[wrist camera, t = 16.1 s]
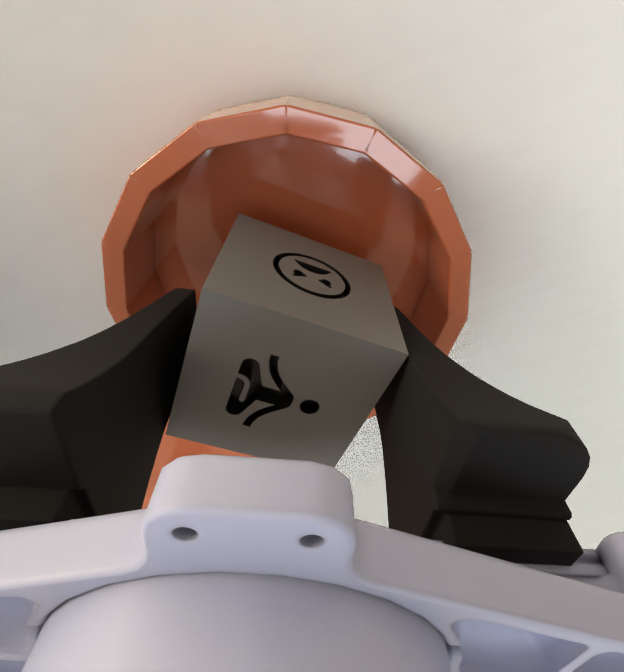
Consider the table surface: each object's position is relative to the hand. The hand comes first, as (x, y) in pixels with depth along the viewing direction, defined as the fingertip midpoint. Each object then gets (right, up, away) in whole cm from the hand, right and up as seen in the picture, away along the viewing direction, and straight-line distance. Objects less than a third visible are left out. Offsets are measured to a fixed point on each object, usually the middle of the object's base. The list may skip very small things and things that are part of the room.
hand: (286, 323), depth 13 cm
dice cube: (0, +1, +1) cm, 2 cm away
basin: (0, +2, +3) cm, 4 cm away
